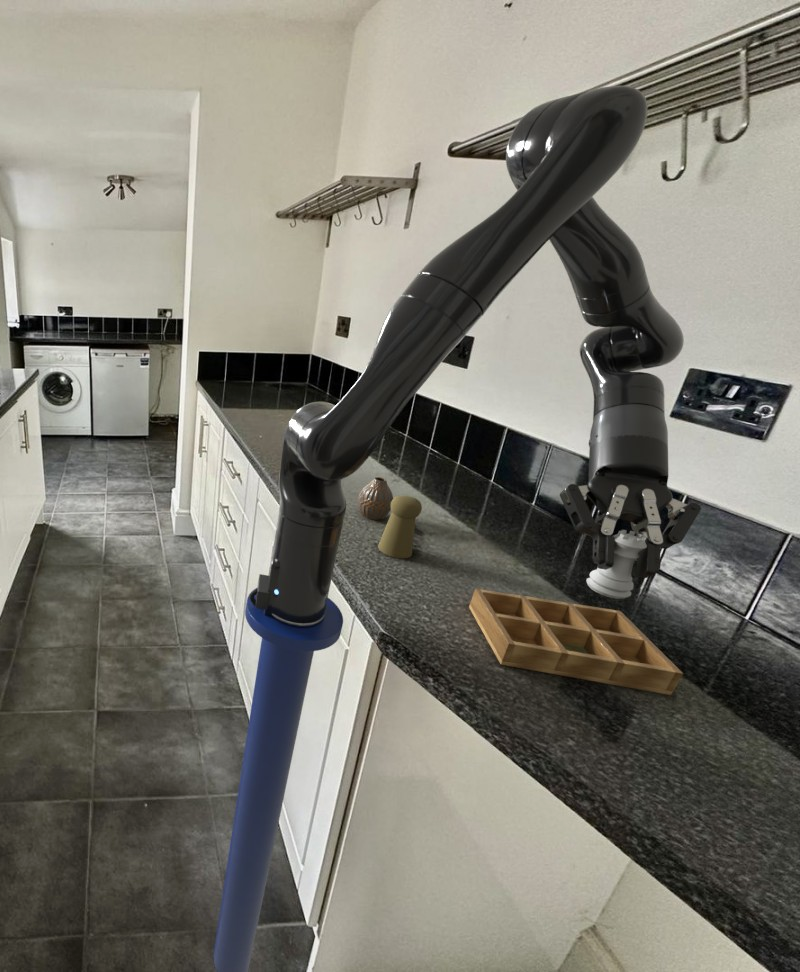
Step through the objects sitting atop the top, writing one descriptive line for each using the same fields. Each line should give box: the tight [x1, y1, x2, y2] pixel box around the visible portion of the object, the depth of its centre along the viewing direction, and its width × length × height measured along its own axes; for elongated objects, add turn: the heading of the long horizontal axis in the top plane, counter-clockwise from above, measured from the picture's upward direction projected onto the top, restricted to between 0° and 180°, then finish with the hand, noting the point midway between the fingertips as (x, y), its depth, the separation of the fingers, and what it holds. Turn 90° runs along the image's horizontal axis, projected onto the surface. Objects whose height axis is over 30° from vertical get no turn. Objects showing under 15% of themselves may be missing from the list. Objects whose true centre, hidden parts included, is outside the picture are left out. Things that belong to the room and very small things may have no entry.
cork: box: [377, 494, 423, 559], centre depth 95 cm, size 6×6×11 cm
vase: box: [357, 476, 394, 521], centre depth 109 cm, size 7×7×9 cm
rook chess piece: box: [585, 529, 647, 600], centre depth 63 cm, size 4×4×8 cm
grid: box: [468, 588, 684, 696], centre depth 72 cm, size 20×13×4 cm
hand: (625, 571), depth 61 cm, fingers closed on rook chess piece, 3 cm apart
